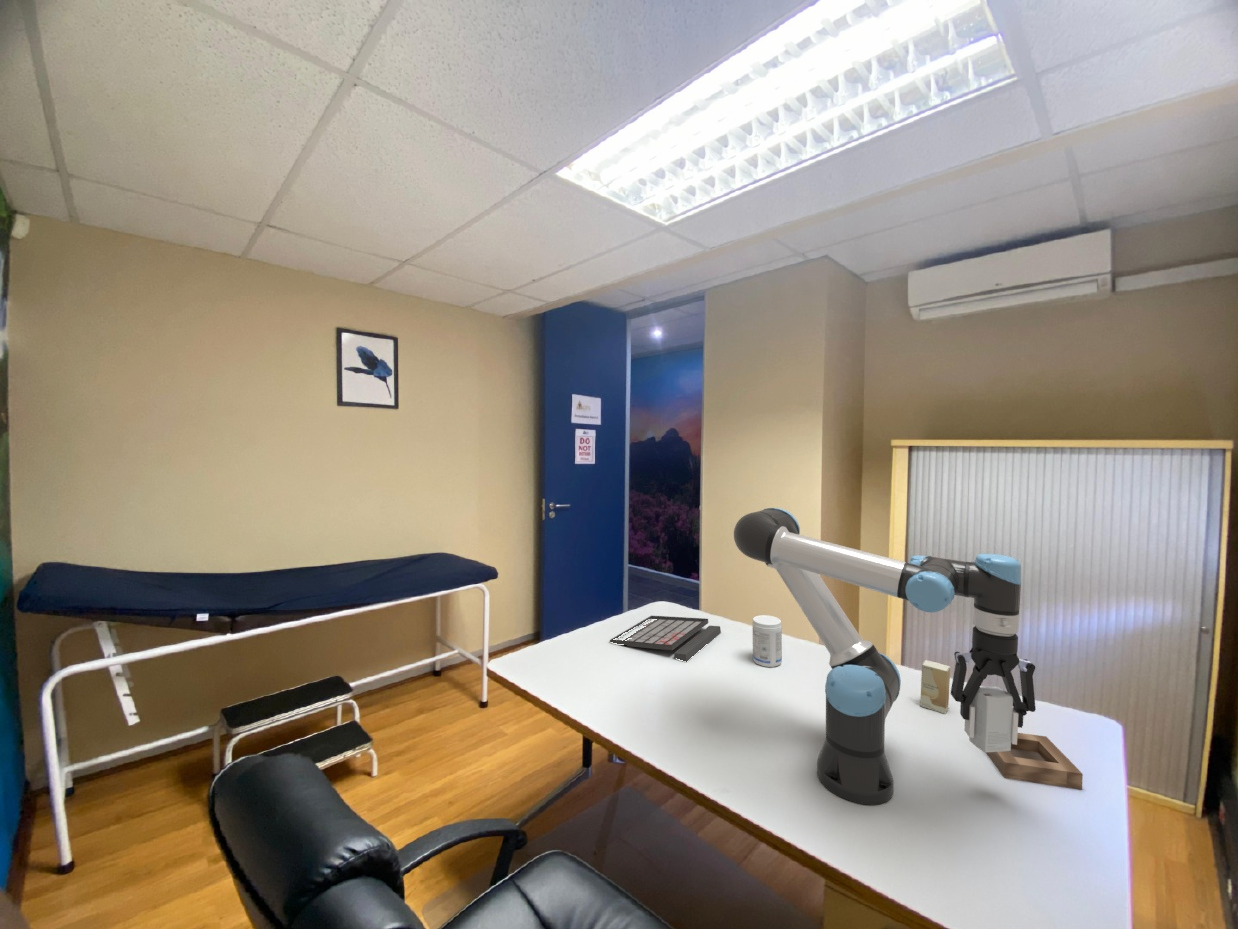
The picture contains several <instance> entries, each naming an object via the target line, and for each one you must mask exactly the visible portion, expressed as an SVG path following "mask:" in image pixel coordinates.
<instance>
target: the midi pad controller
mask: <svg viewBox="0 0 1238 929" xmlns="http://www.w3.org/2000/svg"><path fill="white" fill-rule="evenodd" d="M648 619H650V620H651V619H657V620H654V621H653V622H650V623H648V624H646V625H643V624H644V623H643V622H645V621H646V620H648ZM648 621H649V620H648ZM642 623H643V624H642ZM645 623H646V622H645ZM640 624H642V625H643V626H646V627H644V628H642V629H640V630H638V631H636V633H634V634H633V635H631V636H630V637H628V638H632V639H629V640H627V639H628V638H626V639H625V640H627V641H625V640H623V641H622V640H613V639H615V638H618V637H619V636H621V635H622V634H623V633H625V632H628V631H629V630H631V629H633V628H634V627H636V626H638V627H639V625H640ZM708 624H709V618H705V617H704V618H702V617H701V618H700V617H686V616H685V617H684V616H683V617H681V616H669V615H668V616H667V615H666V616H665V615H664V616H663V615H650V616H648V617H646V618H644V619H643V620H641V621H640V622H637V623H636V624H635V625H633V626H631V627H630V628H628V629H626V630H624V631H622V632H621V633H620V634H617V635H616V636H614V637H613V638H611V639H609V643H610V642H613V643H617V644H624V645H627V646H626V647H634V648H635V647H636V648H644V649H651V650H652V649H655V650H663V651H674V650H675V649H677V647H679V646H681V645H682V644H683V643H684V642H686V641H687V640H688V639H689V638H691V637H692V636H694V634H696V633H697V632H699V631H700V630H701V629H702V628H704V627H705V626H706V625H708ZM640 626H641V625H640ZM633 630H634V629H633ZM628 633H629V632H628ZM720 634H722V630H721V626H720V625H708V626H707V627H705V628H704V629H703V630H702V631H701V632H699V633H698V634H697V635H695V637H693V638H691V639H690V640H689V641H688V642H686V644H684V645H683V646H681V647H680V648H679V649H678V650H677V651H675V652H674V653H673V655H674V659H675V658H677V659H680V660H683V661H686V662H685V663H688V662H689V661H690V660H691V659H692V658H691V657H692V656H694V655H695V654H696V653H697V652H698V651H699V650H701V649H702V648H703V647H704V646H705V645H706V644H708V645H709V644H711V642H713V641H714V640H715V639H716V638H717V637H719V635H720ZM714 638H715V639H714ZM618 639H619V638H618ZM706 646H707V645H706ZM706 646H705V647H706ZM705 647H704V648H705ZM704 648H703V649H704ZM703 649H702V650H703ZM702 650H701V651H702ZM698 653H699V652H698ZM698 653H697V654H698ZM697 654H696V655H697ZM696 655H695V656H696ZM695 656H694V657H695ZM690 658H691V659H690ZM689 659H690V660H689ZM688 660H689V661H688ZM683 661H682V662H683ZM687 661H688V662H687Z"/></svg>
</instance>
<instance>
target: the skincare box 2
mask: <svg viewBox="0 0 1238 929" xmlns="http://www.w3.org/2000/svg"><path fill="white" fill-rule="evenodd" d="M972 705H973V706H974V707H975V720H974V738H970V737H969V736H968V737H969V739H968V740H969V742H970V743H972V745H974V746H975V747H976V748H978V749H979V750H980V751H981V752H984V753H986V752H1000V751H1011V734H1012V715H1013V697H1012V695H1011V694H1010V693H1008V692H1007V690H1006V691H1005V690H1004V689H1002V688H1000V687H999V686H980V688H979V690H978V692H977V693H976V695H975V697H974V699H973V701H972Z"/></svg>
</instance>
